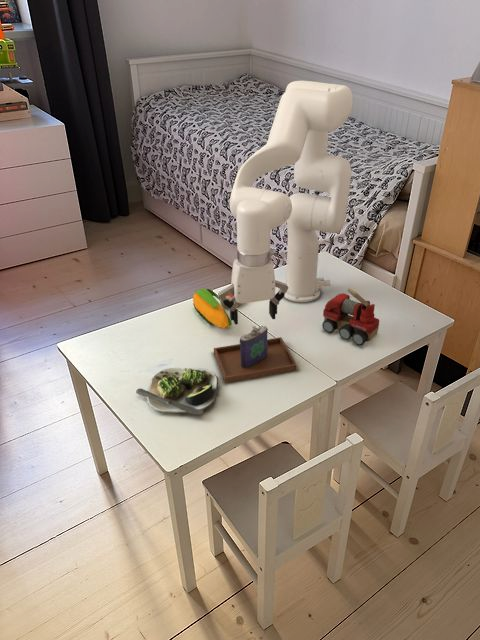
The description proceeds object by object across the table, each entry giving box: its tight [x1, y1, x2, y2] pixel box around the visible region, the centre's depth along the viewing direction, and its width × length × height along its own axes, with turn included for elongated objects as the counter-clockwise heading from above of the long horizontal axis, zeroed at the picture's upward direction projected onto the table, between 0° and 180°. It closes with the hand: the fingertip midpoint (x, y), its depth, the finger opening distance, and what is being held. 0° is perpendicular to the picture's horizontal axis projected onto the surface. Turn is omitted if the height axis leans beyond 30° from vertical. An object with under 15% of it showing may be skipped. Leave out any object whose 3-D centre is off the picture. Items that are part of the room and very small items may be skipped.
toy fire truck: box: [321, 287, 380, 347], centre depth 150 cm, size 11×16×18 cm
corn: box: [192, 288, 233, 330], centre depth 157 cm, size 7×8×20 cm
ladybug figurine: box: [220, 293, 243, 309], centre depth 166 cm, size 7×10×4 cm
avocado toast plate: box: [135, 367, 219, 416], centre depth 131 cm, size 19×18×5 cm
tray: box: [213, 336, 298, 384], centre depth 143 cm, size 19×13×2 cm
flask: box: [239, 325, 269, 369], centre depth 140 cm, size 9×3×11 cm, turn 138°
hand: (253, 319), depth 135 cm, fingers open, 9 cm apart
